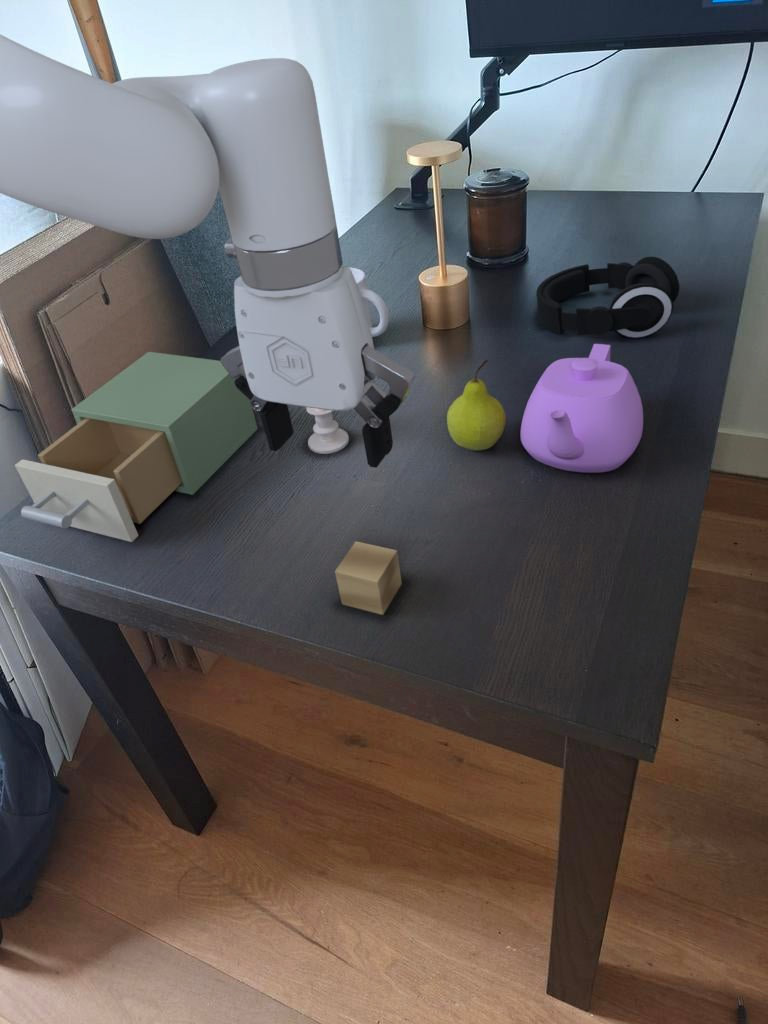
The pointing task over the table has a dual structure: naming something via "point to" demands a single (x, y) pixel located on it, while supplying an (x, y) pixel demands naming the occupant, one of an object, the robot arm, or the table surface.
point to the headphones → (631, 309)
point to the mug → (375, 299)
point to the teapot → (583, 414)
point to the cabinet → (178, 410)
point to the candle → (326, 433)
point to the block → (368, 577)
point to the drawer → (100, 478)
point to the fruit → (476, 417)
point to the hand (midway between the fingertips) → (329, 449)
